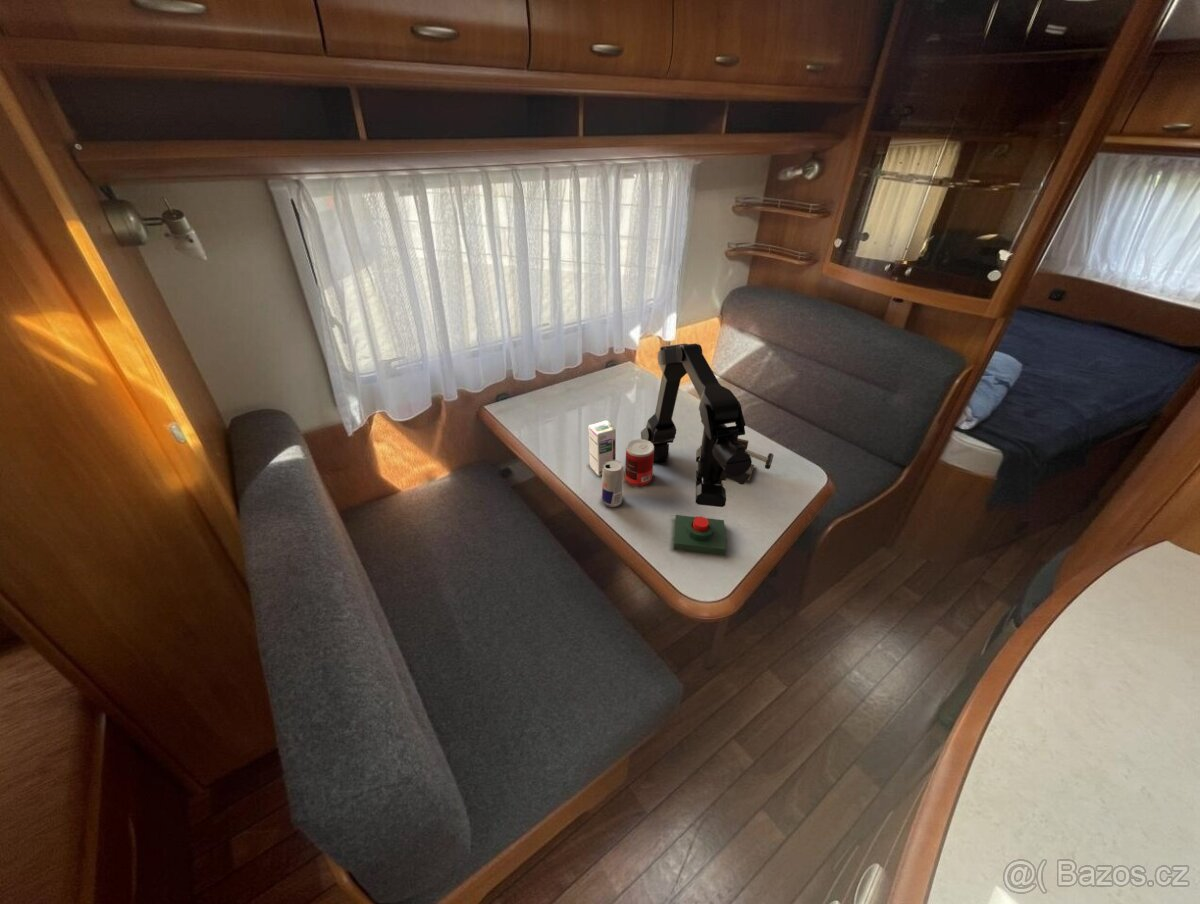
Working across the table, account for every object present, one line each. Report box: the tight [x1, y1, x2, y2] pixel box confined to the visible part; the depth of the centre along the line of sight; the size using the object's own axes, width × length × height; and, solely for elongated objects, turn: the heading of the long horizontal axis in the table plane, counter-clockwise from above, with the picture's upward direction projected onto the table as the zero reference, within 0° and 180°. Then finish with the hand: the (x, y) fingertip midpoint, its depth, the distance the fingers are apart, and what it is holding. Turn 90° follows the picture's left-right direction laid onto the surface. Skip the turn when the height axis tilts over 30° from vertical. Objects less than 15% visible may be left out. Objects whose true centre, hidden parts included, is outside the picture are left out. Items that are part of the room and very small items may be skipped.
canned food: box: [624, 438, 654, 487], centre depth 134 cm, size 8×8×11 cm
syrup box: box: [588, 420, 617, 477], centre depth 137 cm, size 6×6×14 cm
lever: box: [744, 445, 774, 470], centre depth 134 cm, size 11×6×2 cm, turn 65°
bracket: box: [738, 437, 755, 483], centre depth 137 cm, size 10×8×10 cm
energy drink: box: [601, 459, 624, 508], centre depth 125 cm, size 5×5×12 cm
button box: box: [672, 514, 727, 556], centre depth 116 cm, size 12×10×4 cm
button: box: [693, 516, 709, 532], centre depth 115 cm, size 4×4×2 cm
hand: (705, 503), depth 113 cm, fingers closed
